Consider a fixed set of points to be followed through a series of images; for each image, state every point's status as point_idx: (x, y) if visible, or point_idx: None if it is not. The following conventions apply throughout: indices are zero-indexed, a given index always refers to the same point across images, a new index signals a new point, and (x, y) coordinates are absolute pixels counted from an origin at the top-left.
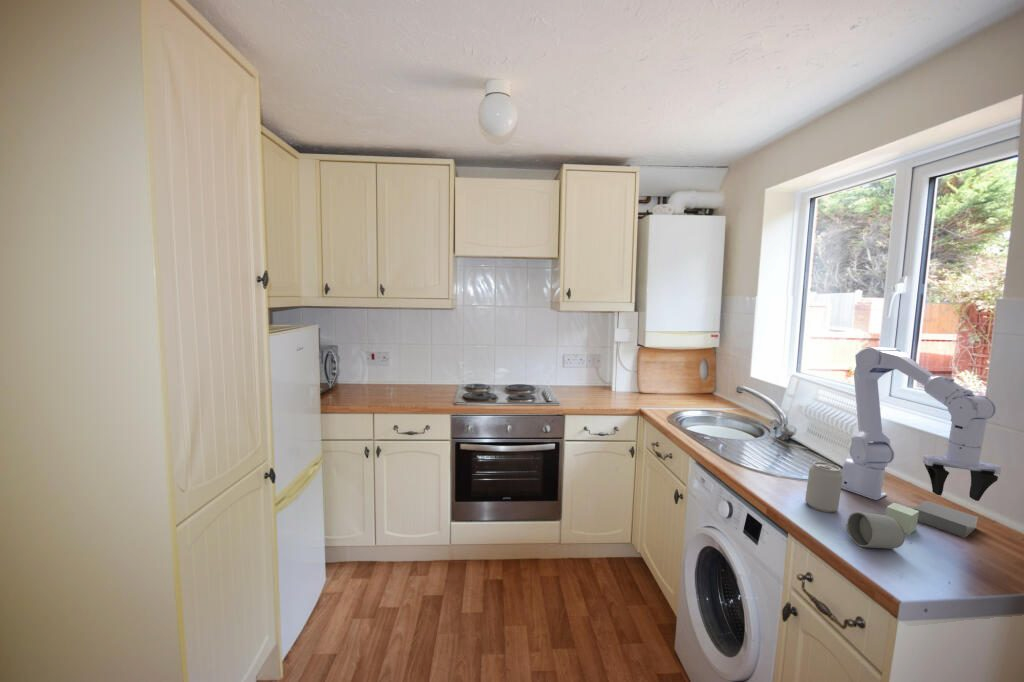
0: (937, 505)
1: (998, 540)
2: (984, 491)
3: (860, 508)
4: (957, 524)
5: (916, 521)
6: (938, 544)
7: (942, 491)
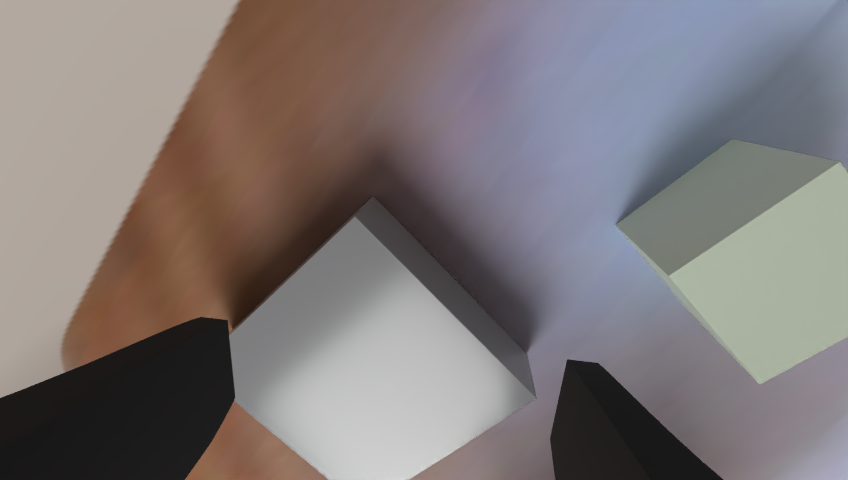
0: (342, 461)
1: (198, 217)
2: (58, 376)
3: (765, 414)
4: (389, 246)
5: (657, 231)
6: (629, 43)
7: (586, 389)
